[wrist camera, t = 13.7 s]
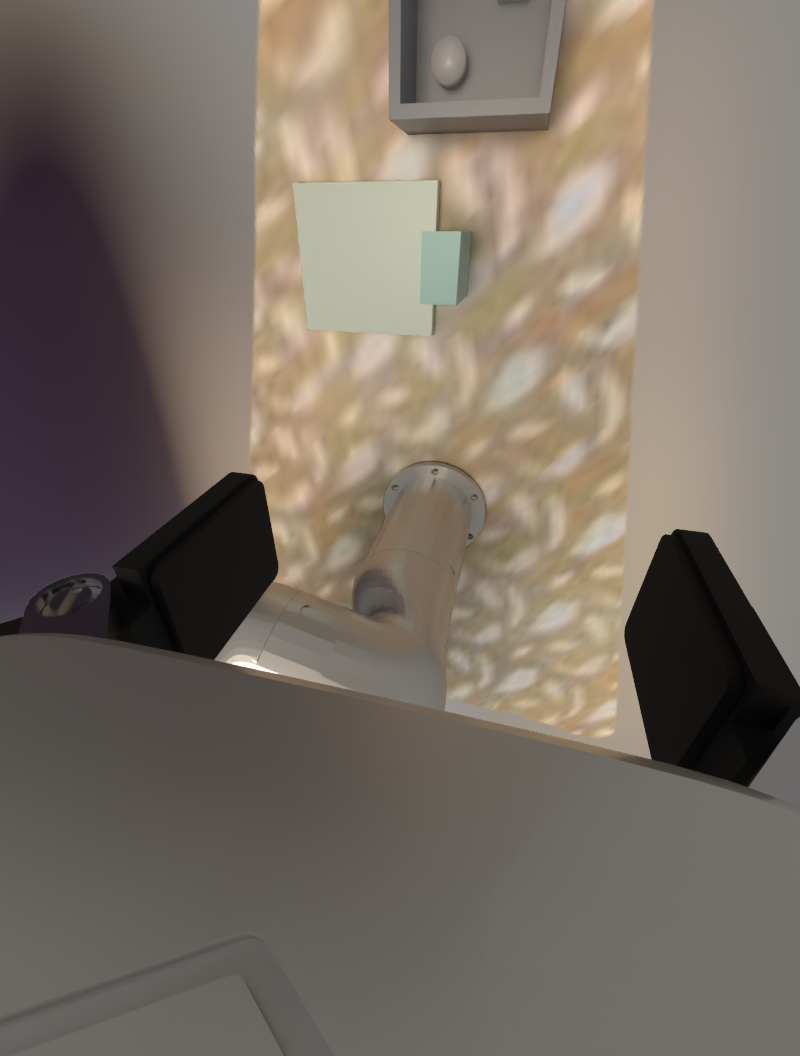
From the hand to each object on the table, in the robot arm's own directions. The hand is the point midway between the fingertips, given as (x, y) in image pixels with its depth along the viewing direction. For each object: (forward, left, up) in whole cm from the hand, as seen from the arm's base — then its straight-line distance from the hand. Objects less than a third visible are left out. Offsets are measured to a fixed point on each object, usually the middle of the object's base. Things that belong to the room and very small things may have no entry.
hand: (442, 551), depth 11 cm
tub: (+19, +5, -38) cm, 43 cm away
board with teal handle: (+4, +12, -38) cm, 40 cm away
